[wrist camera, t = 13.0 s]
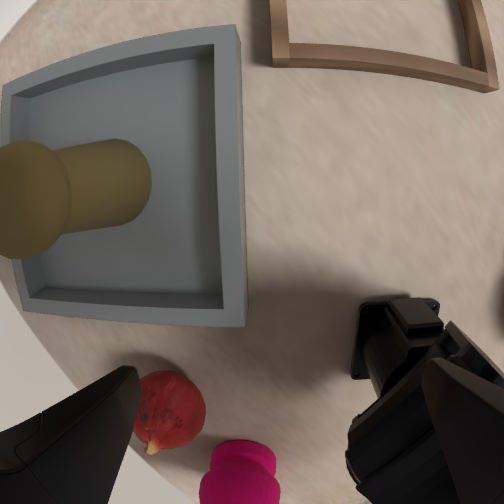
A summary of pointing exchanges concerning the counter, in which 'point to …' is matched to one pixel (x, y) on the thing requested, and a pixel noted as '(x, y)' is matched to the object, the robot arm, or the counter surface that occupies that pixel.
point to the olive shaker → (67, 191)
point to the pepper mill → (240, 475)
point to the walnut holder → (393, 53)
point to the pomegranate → (168, 411)
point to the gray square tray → (163, 180)
